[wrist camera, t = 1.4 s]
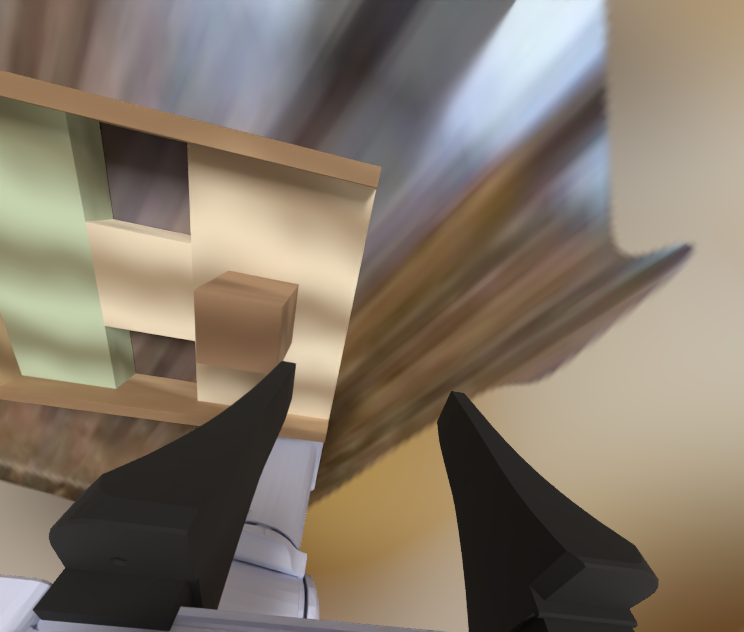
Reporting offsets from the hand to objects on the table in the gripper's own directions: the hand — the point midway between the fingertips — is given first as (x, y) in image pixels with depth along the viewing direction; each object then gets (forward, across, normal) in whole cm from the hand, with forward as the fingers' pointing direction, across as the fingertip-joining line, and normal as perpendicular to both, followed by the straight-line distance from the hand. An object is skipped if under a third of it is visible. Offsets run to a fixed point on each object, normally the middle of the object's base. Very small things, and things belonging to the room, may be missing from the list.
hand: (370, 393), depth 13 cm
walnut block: (+7, +8, +1) cm, 11 cm away
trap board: (+9, +14, +1) cm, 16 cm away
